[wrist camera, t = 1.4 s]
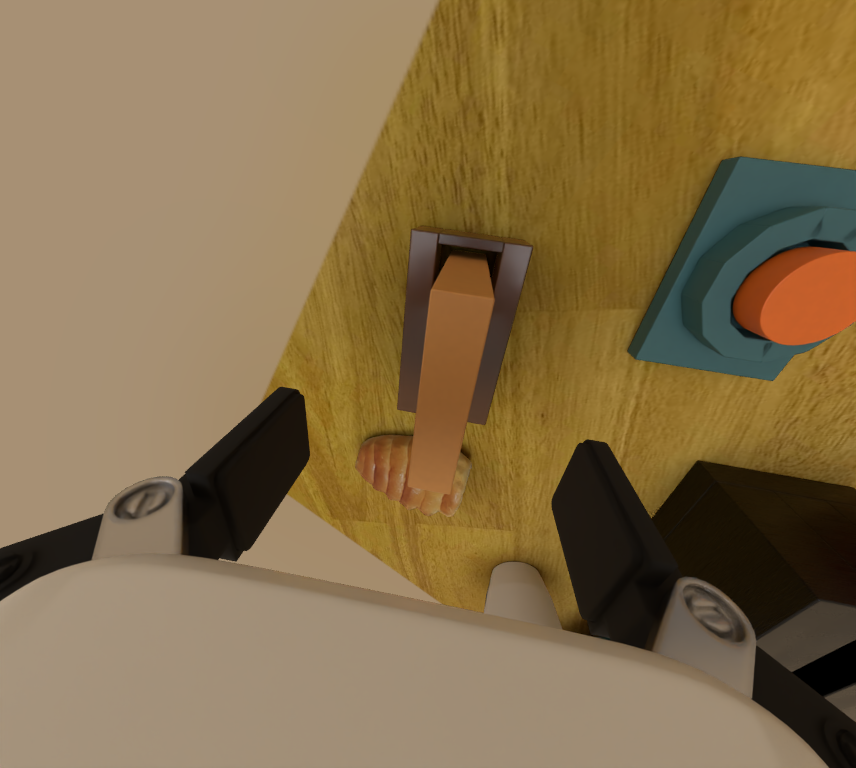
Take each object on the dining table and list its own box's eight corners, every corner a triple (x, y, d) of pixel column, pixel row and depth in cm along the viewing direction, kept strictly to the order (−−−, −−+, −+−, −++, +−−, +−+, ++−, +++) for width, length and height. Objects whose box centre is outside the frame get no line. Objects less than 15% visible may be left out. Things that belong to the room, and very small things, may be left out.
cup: (463, 564, 34) (460, 686, 25) (530, 544, 30) (552, 676, 22) (503, 600, 36) (512, 722, 28) (569, 585, 33) (601, 718, 24)
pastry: (358, 472, 29) (343, 506, 25) (366, 415, 25) (350, 446, 22) (455, 497, 29) (453, 535, 25) (477, 444, 25) (477, 480, 22)
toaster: (697, 460, 23) (819, 600, 15) (853, 487, 22) (1070, 649, 14) (612, 568, 31) (662, 699, 22) (726, 590, 30) (820, 734, 22)
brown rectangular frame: (420, 225, 18) (410, 228, 15) (525, 240, 17) (533, 246, 15) (405, 387, 23) (396, 410, 21) (484, 400, 23) (485, 425, 20)
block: (721, 159, 14) (775, 149, 12) (903, 181, 14) (999, 176, 11) (626, 351, 20) (649, 373, 17) (757, 372, 19) (801, 397, 17)
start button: (767, 240, 14) (804, 244, 12) (863, 253, 13) (912, 259, 12) (714, 325, 16) (740, 338, 14) (796, 338, 15) (831, 352, 14)
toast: (452, 249, 18) (430, 288, 9) (485, 253, 18) (495, 298, 9) (433, 380, 23) (407, 487, 14) (460, 384, 22) (450, 495, 14)
